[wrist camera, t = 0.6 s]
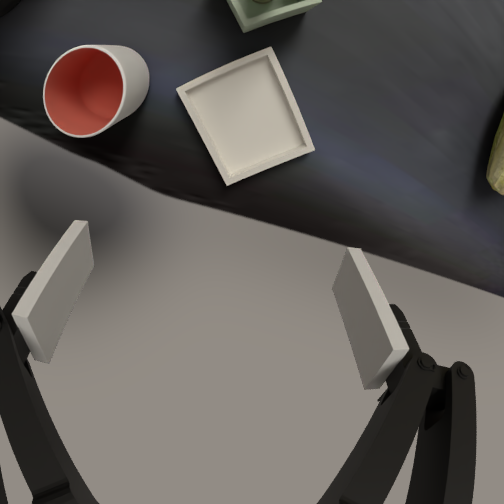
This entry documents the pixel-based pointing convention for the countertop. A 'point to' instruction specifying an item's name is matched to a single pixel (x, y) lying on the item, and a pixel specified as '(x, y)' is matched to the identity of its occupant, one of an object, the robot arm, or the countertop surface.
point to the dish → (247, 116)
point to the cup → (94, 88)
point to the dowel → (261, 1)
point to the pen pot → (267, 11)
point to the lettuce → (497, 161)
